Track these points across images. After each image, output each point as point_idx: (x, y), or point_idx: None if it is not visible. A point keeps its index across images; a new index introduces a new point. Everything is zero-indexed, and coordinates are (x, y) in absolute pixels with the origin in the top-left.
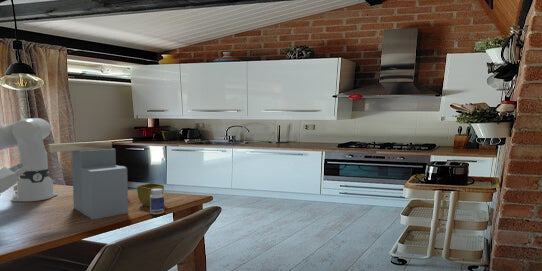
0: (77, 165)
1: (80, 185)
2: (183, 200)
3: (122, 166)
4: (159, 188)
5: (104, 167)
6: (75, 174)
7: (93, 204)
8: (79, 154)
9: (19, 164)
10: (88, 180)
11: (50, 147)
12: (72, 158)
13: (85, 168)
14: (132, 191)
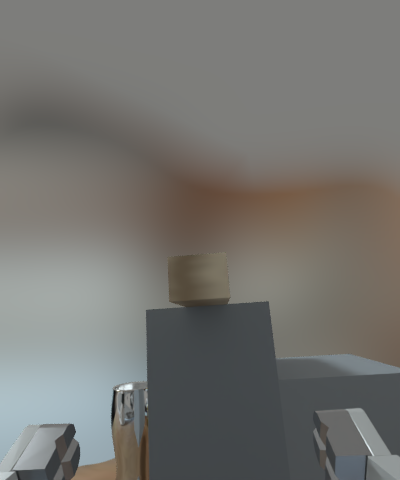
0: (222, 376)
1: (268, 477)
2: None
3: (128, 384)
4: None
5: (305, 364)
6: (191, 429)
7: None
8: (250, 318)
9: (59, 441)
10: (382, 424)
11: (227, 268)
12: (150, 353)
13: (298, 376)
14: (109, 464)
